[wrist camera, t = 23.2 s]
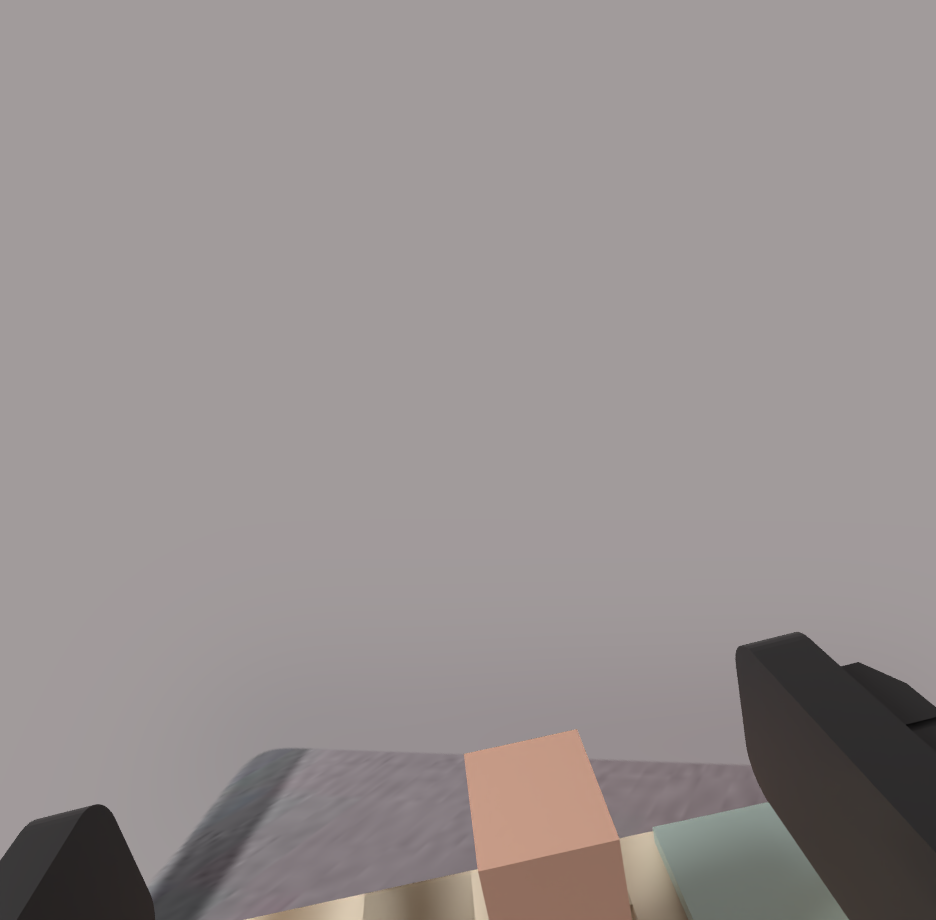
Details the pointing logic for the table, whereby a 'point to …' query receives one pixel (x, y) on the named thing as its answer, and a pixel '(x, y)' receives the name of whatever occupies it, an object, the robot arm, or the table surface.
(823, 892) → the cover
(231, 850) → the table surface
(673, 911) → the puzzle board
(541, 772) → the block
